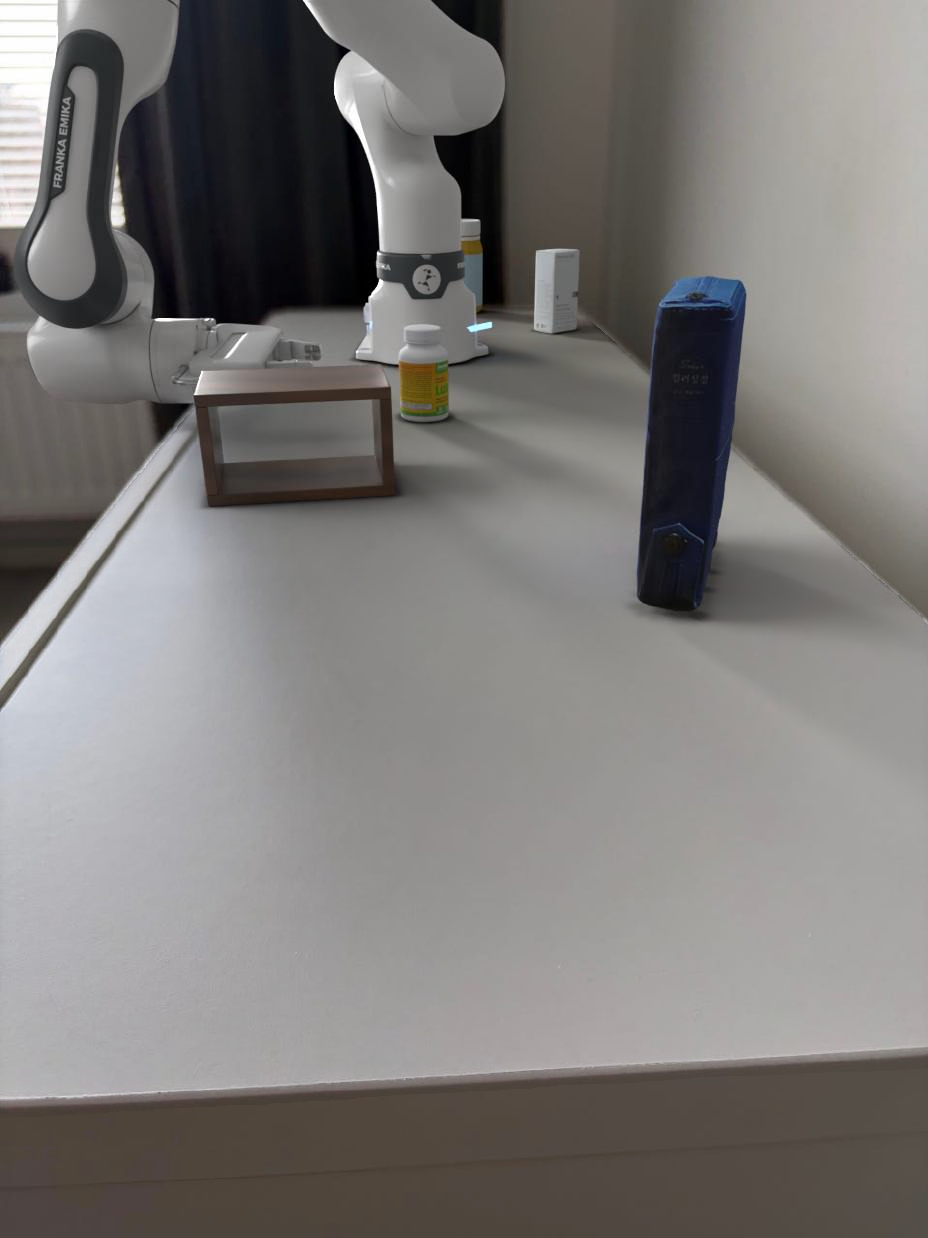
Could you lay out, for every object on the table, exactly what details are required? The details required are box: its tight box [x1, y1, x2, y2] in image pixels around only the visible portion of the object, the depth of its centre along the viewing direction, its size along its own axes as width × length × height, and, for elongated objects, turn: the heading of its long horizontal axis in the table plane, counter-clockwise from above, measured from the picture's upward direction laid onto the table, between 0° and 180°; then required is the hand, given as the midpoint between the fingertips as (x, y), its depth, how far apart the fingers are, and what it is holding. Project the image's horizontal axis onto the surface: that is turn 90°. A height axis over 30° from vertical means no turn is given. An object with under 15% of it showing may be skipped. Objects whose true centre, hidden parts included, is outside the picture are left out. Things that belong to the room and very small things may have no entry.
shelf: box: [193, 363, 396, 507], centre depth 85 cm, size 9×16×10 cm, turn 100°
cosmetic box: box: [533, 248, 581, 334], centre depth 152 cm, size 6×4×12 cm
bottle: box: [461, 218, 484, 314], centre depth 168 cm, size 7×7×15 cm
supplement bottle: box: [398, 324, 450, 423], centre depth 105 cm, size 5×5×10 cm
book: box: [636, 275, 747, 613], centre depth 64 cm, size 14×5×20 cm, turn 163°
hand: (317, 359), depth 104 cm, fingers open, 8 cm apart
